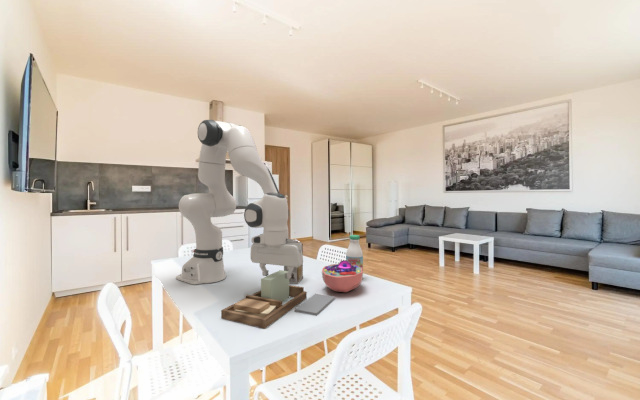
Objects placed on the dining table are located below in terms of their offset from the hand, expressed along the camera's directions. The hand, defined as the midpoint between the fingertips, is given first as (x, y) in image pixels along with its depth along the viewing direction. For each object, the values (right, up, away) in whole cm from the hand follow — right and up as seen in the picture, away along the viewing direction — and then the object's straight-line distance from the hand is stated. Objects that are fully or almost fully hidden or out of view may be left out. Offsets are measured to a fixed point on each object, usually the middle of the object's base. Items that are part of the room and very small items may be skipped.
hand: (276, 277), depth 101 cm
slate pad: (+14, -9, -2) cm, 17 cm away
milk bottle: (+31, -9, +29) cm, 44 cm away
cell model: (+25, -9, +14) cm, 30 cm away
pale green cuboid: (0, -9, 0) cm, 9 cm away
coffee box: (+4, -9, +26) cm, 28 cm away
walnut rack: (-2, -9, -4) cm, 10 cm away
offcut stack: (-6, -10, -11) cm, 16 cm away
